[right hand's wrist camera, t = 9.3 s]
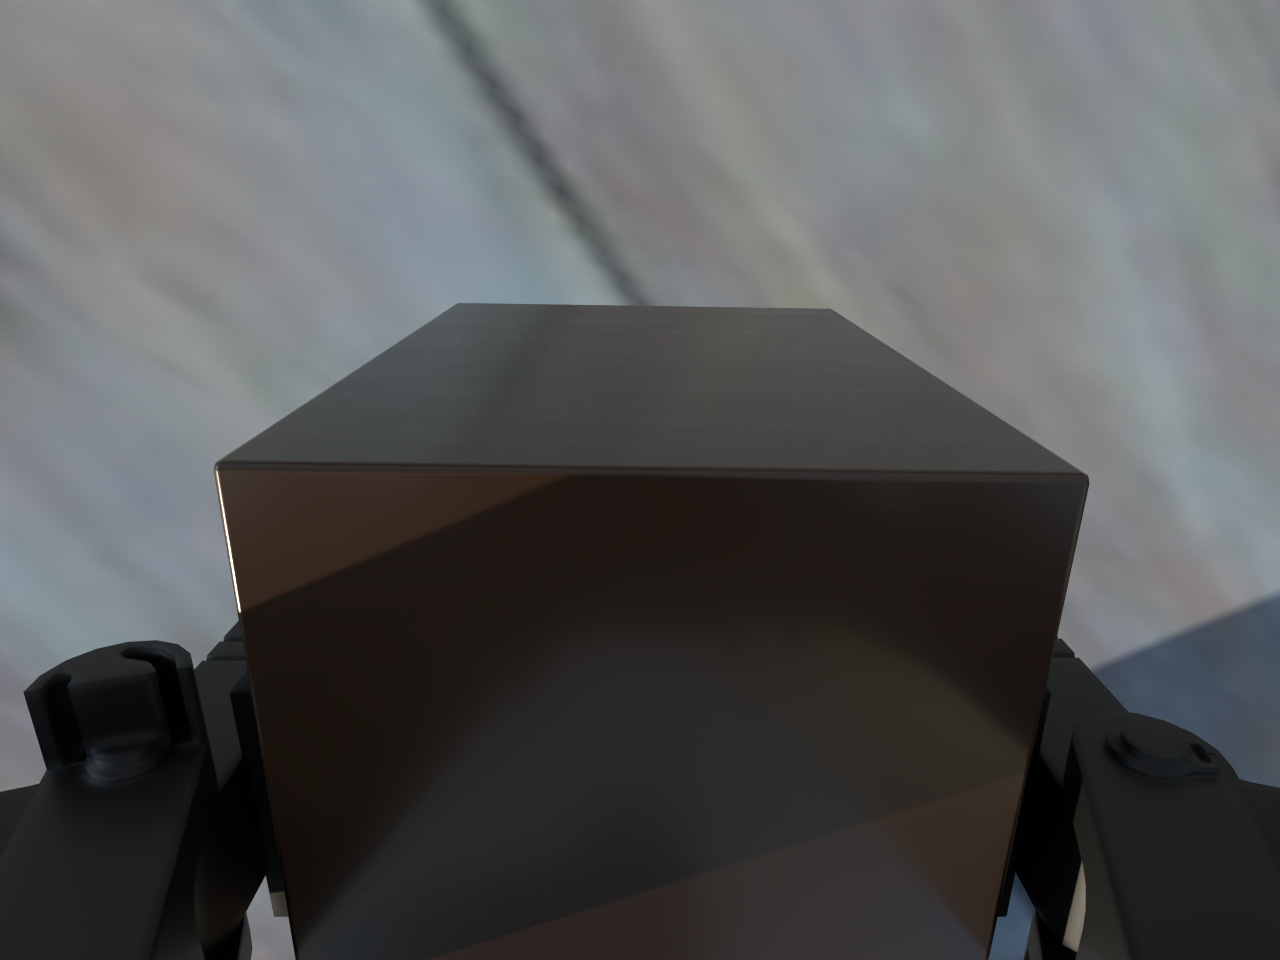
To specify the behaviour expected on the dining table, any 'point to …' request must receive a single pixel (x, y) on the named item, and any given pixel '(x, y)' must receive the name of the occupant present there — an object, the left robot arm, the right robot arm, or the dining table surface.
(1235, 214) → the dining table surface
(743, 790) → the walnut beam
